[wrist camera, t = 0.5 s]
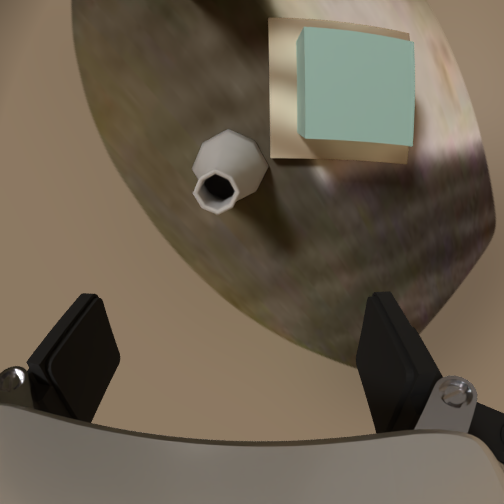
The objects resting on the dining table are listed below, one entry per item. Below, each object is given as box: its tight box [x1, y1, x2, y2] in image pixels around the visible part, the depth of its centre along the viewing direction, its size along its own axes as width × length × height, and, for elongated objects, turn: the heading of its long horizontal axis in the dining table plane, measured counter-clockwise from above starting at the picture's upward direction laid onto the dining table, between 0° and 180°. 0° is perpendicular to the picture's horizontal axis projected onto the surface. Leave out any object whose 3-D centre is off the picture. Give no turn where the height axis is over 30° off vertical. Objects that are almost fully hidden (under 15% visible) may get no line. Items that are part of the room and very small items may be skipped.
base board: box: [268, 18, 410, 164], centre depth 27 cm, size 14×14×1 cm
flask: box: [192, 129, 269, 215], centre depth 27 cm, size 7×7×10 cm
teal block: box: [296, 27, 415, 146], centre depth 24 cm, size 9×9×6 cm
